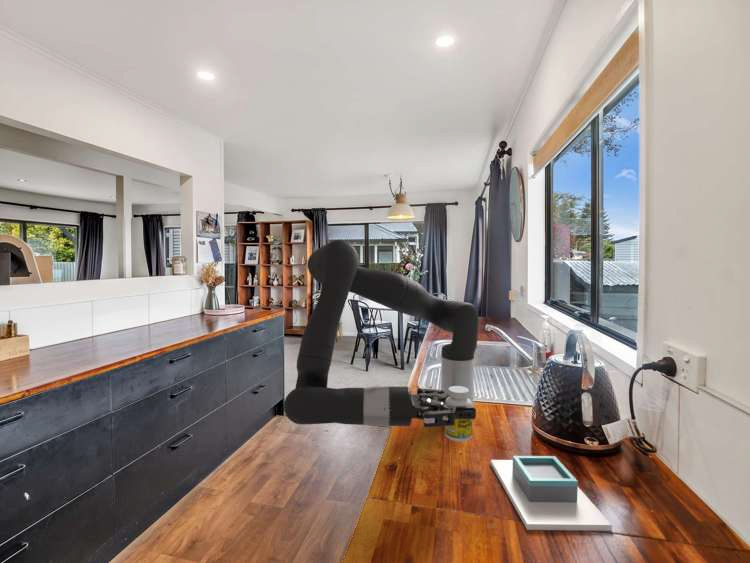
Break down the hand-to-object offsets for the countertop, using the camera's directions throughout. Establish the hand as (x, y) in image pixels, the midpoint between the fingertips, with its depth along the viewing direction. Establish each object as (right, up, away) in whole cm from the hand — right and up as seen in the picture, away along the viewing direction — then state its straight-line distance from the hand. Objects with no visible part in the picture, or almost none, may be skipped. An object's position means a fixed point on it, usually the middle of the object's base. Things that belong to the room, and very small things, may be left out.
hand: (471, 406), depth 74 cm
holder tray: (+13, -16, -2) cm, 21 cm away
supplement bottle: (-3, -6, 0) cm, 7 cm away
